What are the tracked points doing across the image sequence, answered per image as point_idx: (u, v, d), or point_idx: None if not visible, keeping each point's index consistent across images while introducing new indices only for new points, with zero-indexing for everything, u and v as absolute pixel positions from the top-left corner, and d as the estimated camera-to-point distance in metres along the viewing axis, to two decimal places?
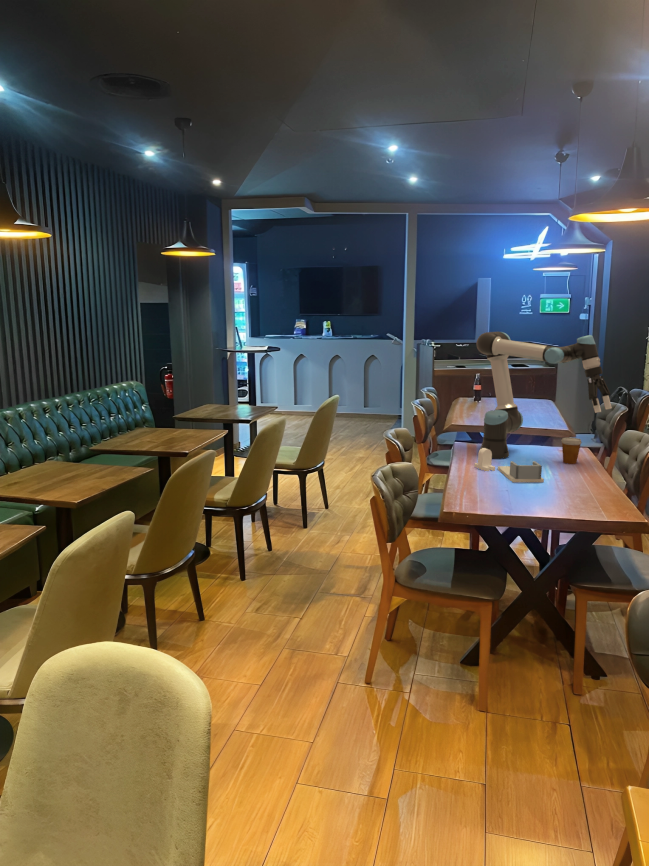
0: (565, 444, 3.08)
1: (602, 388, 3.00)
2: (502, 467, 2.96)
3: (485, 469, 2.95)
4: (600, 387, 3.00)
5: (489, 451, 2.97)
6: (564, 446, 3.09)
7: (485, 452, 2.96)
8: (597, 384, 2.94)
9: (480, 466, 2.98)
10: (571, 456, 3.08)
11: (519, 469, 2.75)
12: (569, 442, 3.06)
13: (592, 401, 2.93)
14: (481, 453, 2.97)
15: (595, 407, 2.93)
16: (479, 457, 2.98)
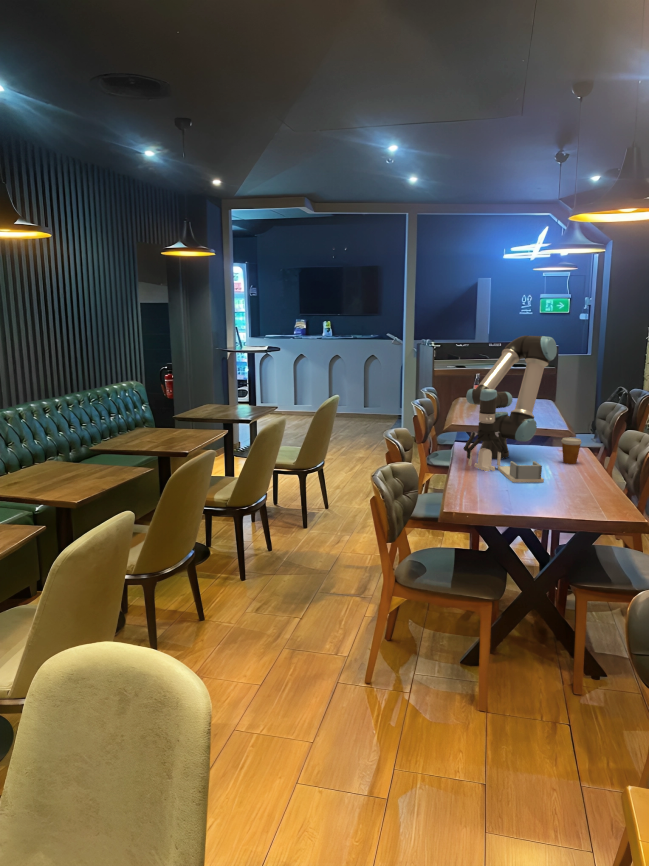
0: (565, 444, 3.08)
1: (494, 444, 2.97)
2: (502, 467, 2.96)
3: (485, 469, 2.95)
4: (493, 442, 2.97)
5: (489, 451, 2.97)
6: (564, 446, 3.09)
7: (485, 452, 2.96)
8: (478, 439, 2.95)
9: (480, 466, 2.98)
10: (571, 456, 3.08)
11: (519, 469, 2.75)
12: (569, 442, 3.06)
13: None
14: (481, 453, 2.97)
15: (469, 460, 2.99)
16: (479, 457, 2.98)
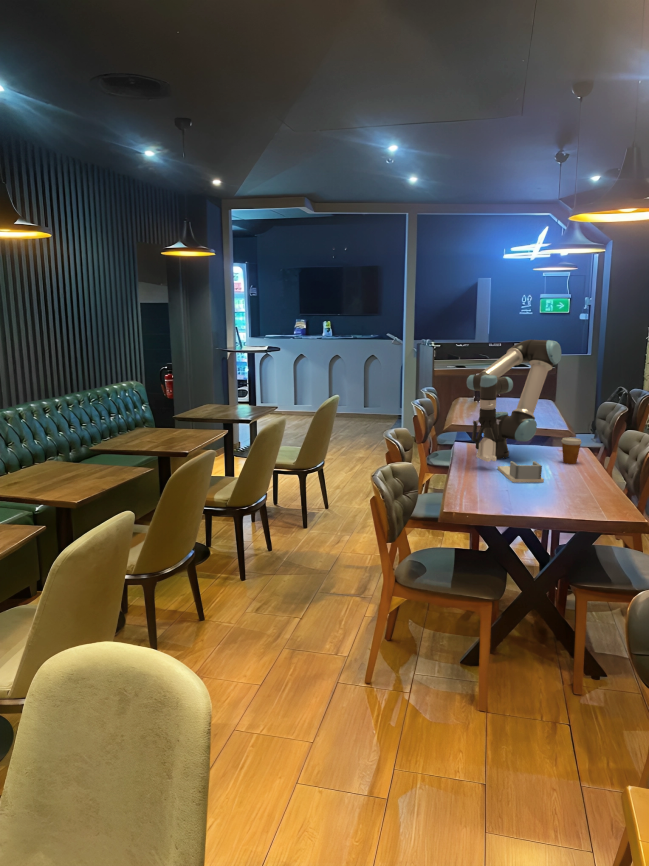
0: (565, 444, 3.08)
1: (492, 432, 2.96)
2: (502, 467, 2.96)
3: (486, 459, 2.94)
4: (491, 430, 2.96)
5: (491, 441, 2.96)
6: (564, 446, 3.09)
7: (486, 442, 2.96)
8: (482, 428, 2.94)
9: (481, 455, 2.98)
10: (571, 456, 3.08)
11: (519, 469, 2.75)
12: (569, 442, 3.06)
13: None
14: (482, 443, 2.96)
15: None
16: None
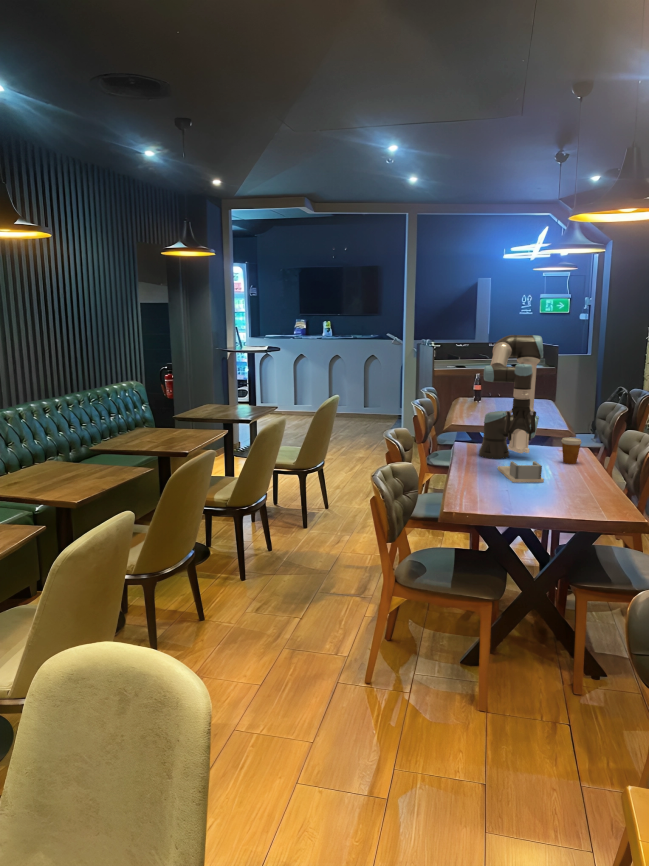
0: (565, 444, 3.08)
1: (525, 423, 2.86)
2: (502, 467, 2.96)
3: (519, 450, 2.84)
4: (524, 421, 2.87)
5: (524, 432, 2.87)
6: (564, 446, 3.09)
7: (519, 433, 2.86)
8: (515, 418, 2.85)
9: (514, 447, 2.88)
10: (571, 456, 3.08)
11: (519, 469, 2.75)
12: (569, 442, 3.06)
13: None
14: (515, 434, 2.87)
15: (510, 442, 2.89)
16: (513, 438, 2.88)
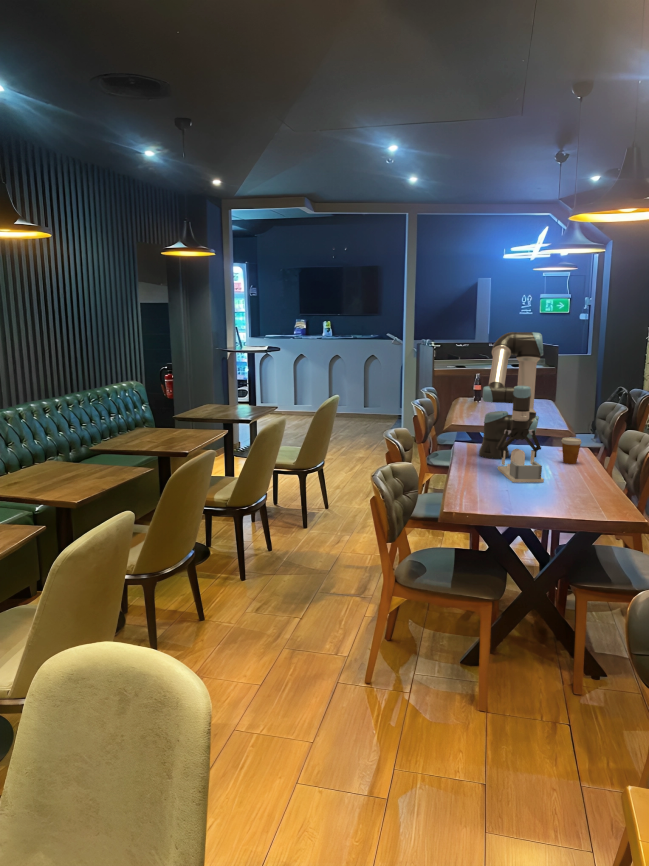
0: (565, 444, 3.08)
1: (528, 442, 2.88)
2: (502, 467, 2.96)
3: None
4: None
5: (522, 452, 2.88)
6: (564, 446, 3.09)
7: (518, 453, 2.88)
8: (512, 438, 2.86)
9: None
10: (571, 456, 3.08)
11: (519, 469, 2.75)
12: (569, 442, 3.06)
13: None
14: (513, 454, 2.88)
15: (502, 459, 2.91)
16: (511, 458, 2.90)
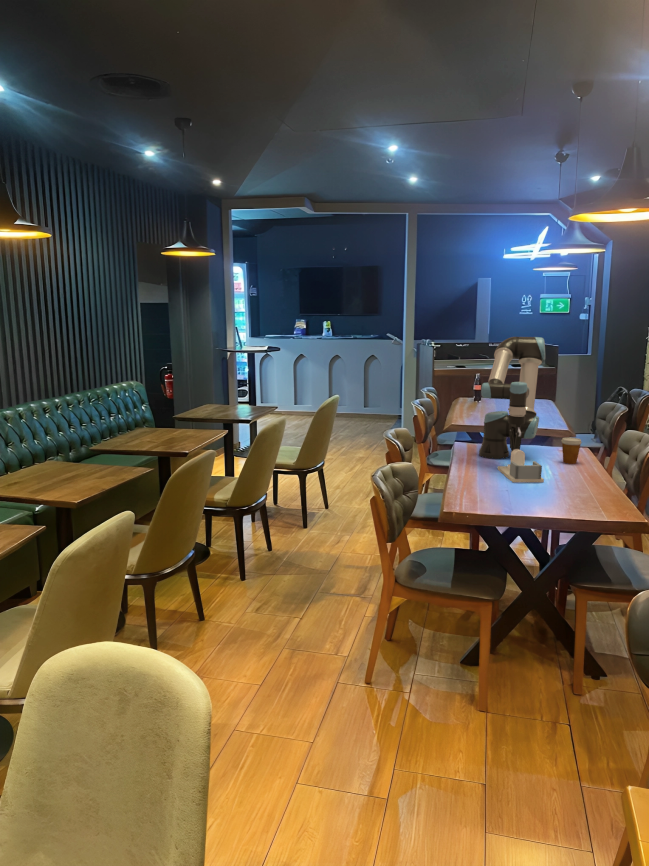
0: (565, 444, 3.08)
1: None
2: (502, 467, 2.96)
3: None
4: None
5: (522, 452, 2.87)
6: (564, 446, 3.09)
7: (517, 453, 2.87)
8: (510, 434, 2.95)
9: None
10: (571, 456, 3.08)
11: (519, 469, 2.75)
12: (569, 442, 3.06)
13: None
14: (513, 454, 2.88)
15: None
16: (511, 458, 2.89)
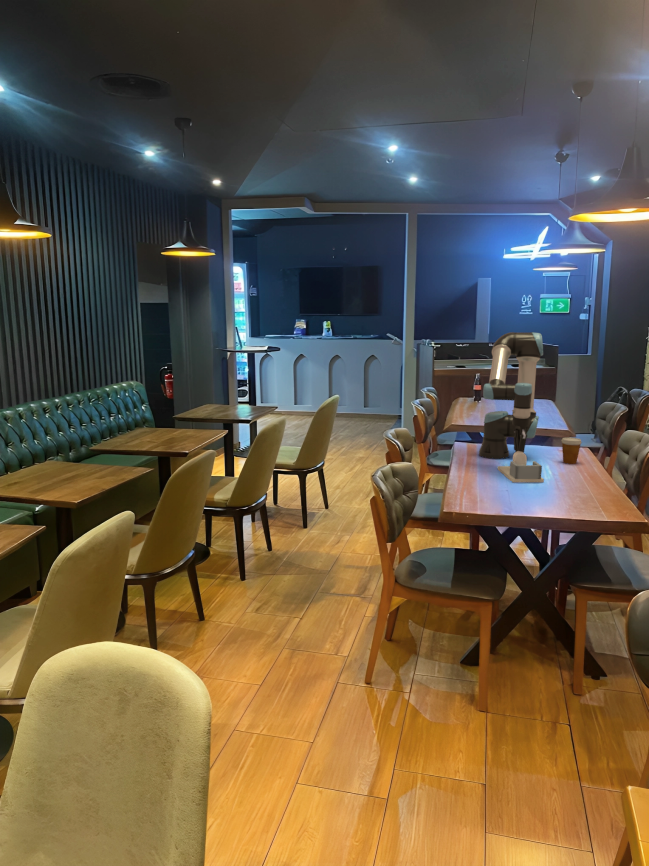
0: (565, 444, 3.08)
1: None
2: (502, 467, 2.96)
3: None
4: None
5: (523, 455, 2.82)
6: (564, 446, 3.09)
7: (518, 455, 2.82)
8: (515, 436, 2.89)
9: None
10: (571, 456, 3.08)
11: (519, 469, 2.75)
12: (569, 442, 3.06)
13: None
14: (514, 456, 2.84)
15: None
16: (513, 460, 2.85)
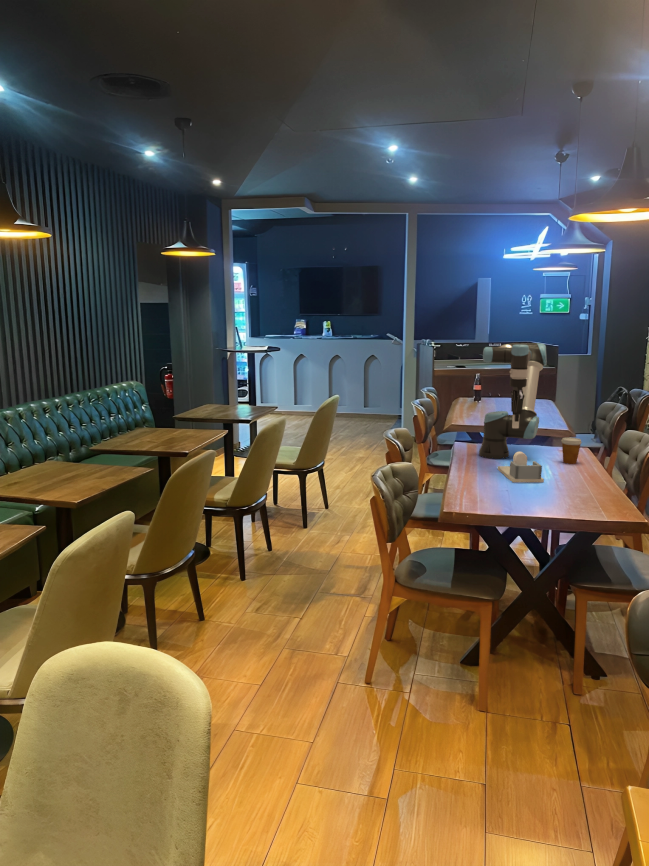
0: (565, 444, 3.08)
1: None
2: (502, 467, 2.96)
3: None
4: None
5: (524, 455, 2.82)
6: (564, 446, 3.09)
7: (519, 456, 2.82)
8: (512, 397, 2.93)
9: None
10: (571, 456, 3.08)
11: (519, 469, 2.75)
12: (569, 442, 3.06)
13: None
14: (515, 457, 2.83)
15: None
16: (513, 461, 2.85)
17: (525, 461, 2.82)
